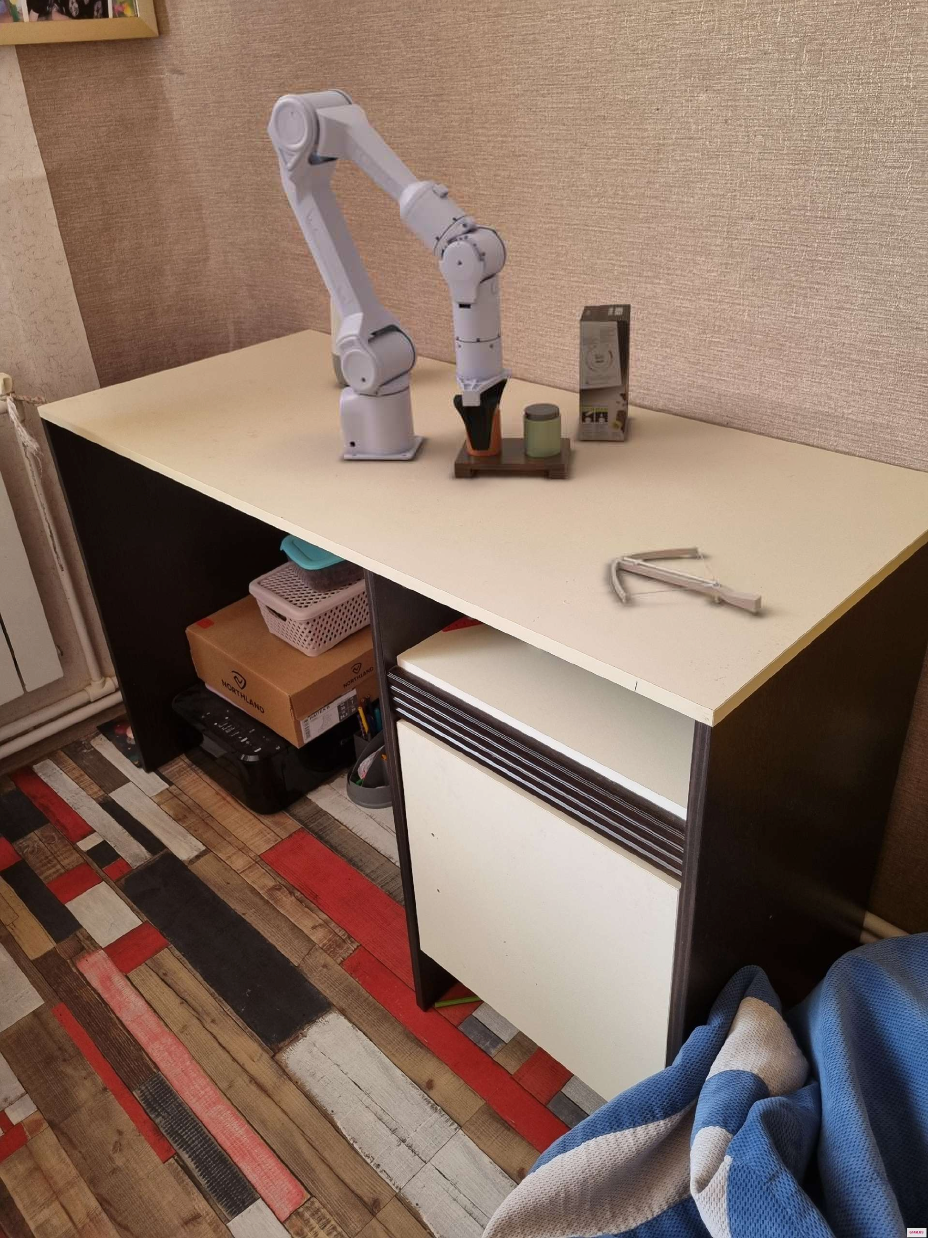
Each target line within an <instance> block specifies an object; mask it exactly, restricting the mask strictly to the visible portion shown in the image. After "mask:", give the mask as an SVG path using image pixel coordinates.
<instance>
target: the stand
mask: <svg viewBox="0 0 928 1238" xmlns="http://www.w3.org/2000/svg"><path fill="white" fill-rule="evenodd" d="M571 447H572V446H571V437H561V452H560V453H558V454H556V455H554V456H550V457H533V456H529V455H527V454H525V452H524V437H502V450H501V452H499V453H498V454H495V455H491V456H473V455H470V454H469V453H468V452H467V446H466V439H465V440H464V442H463V443H462V446H461V448H460V450H459V452H458V454H457V457H456V458H455V460H454V463H453V465H454V466H453V467H454V478H456V479H471V477H472V475H473V472H474V470H533V471H535V470H537V471H539V470H541V471H543V470H544V471H545V470H546V471H548V479H551V480H552V479H554V480H557V479H558V480H560V479H561V480H564V479H565V478H566V474H567V469H568V465H569V461H570V455H571V451H572V449H571Z"/></svg>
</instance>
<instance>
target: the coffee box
mask: <svg viewBox="0 0 928 1238" xmlns="http://www.w3.org/2000/svg"><path fill="white" fill-rule="evenodd" d="M631 308H632V306H631V304H630V303H614V304H601V305H585V306H584V307H583V310H582V313H581V316H580V319H579V341H578V342H579V343H578V345H579V347H578V348H579V349H578V350H579V352H578V353H579V354H578V355H579V358H578V359H579V361H578V362H579V363H578V366H579V367H578V371H579V373H578V375H579V377H578V381H579V382H578V383H579V385H578V391H579V392H578V393H579V394H578V421H579V422H578V425H579V426H578V439H579V440H580V441H615V442H616V441H618V442H620V441H621V442H622V441H624V440H625V438H626V431H627V425H628V420H629V419H628V418H629V397H630V396H629V395H630V394H629V393H630V392H629V391H630V357H631V355H630V353H631V350H630V349H631V311H632V309H631Z"/></svg>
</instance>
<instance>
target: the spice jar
mask: <svg viewBox="0 0 928 1238" xmlns="http://www.w3.org/2000/svg"><path fill="white" fill-rule="evenodd" d="M501 416H502V415H501V409H500V406H499V405H498V404H497V406H496V409H495V412H494V416H493V422H492V433H491V442H490V446H489V449H488V450H473V449H472V447H471V444H470V441H469V437H468V434H467V430H466V427H465V426H464V431H465V440H466V446H467V452H468V453H469V454H470V455H473V456H491V455H495V454H498V453H499V452H501V450H502V438H503V437H502V417H501Z"/></svg>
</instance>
